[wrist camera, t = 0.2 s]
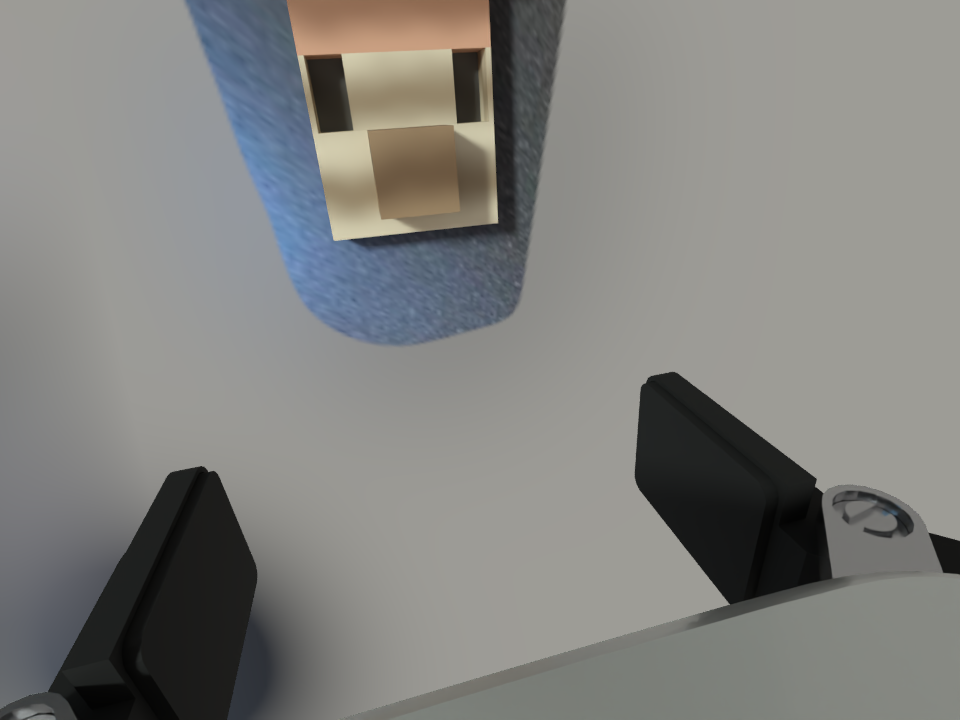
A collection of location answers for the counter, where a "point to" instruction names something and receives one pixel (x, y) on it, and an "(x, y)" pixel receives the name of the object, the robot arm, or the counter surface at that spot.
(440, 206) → the block
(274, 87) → the counter surface
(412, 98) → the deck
